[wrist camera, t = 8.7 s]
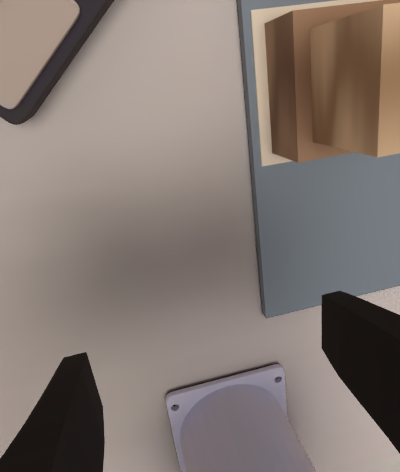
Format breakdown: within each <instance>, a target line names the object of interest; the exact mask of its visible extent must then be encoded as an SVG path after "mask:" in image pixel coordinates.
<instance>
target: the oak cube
mask: <svg viewBox="0 0 400 472" xmlns="http://www.w3.org/2000/svg"><path fill="white" fill-rule="evenodd" d="M310 44H311V88H312V132H313V142H314V143H319V144H323V145H327V146H331V147H335V148H340V149H344V150H348V151H352V152H356V153H361V154H365V155H369V156H373V157H383V156H388V155H393V154H398V153H400V3H392V4H384V5H381V6H377V7H374V8H371V9H368V10H365V11H362V12H359V13H356V14H353V15H350V16H347V17H344V18H341V19H338V20H335V21H332V22H329V23H326V24H322V25H319V26H316V27H313V28H310Z"/></svg>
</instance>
